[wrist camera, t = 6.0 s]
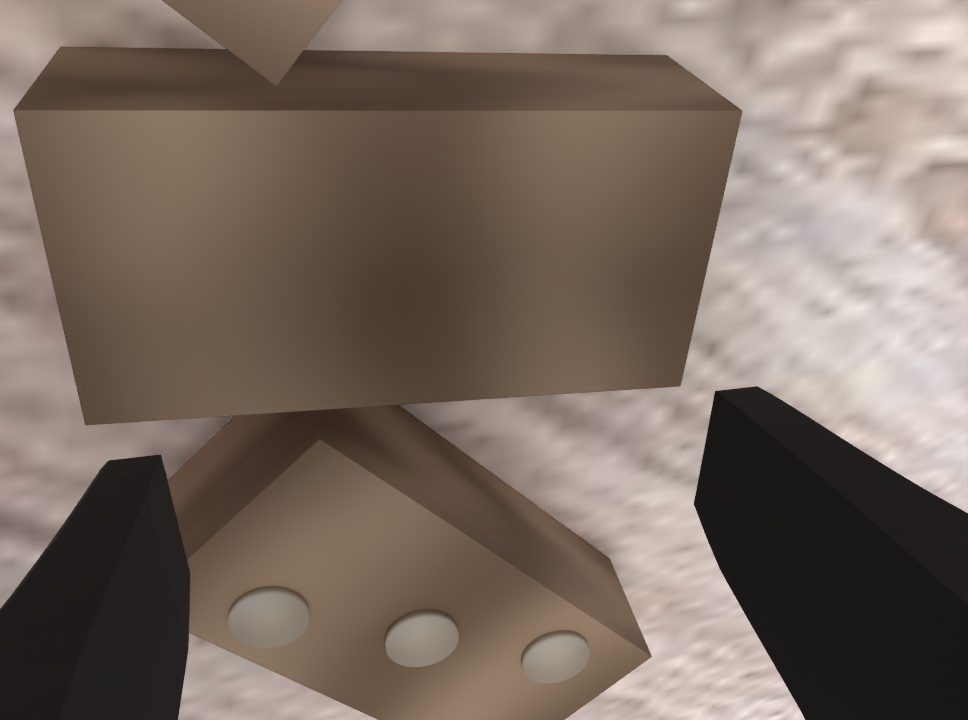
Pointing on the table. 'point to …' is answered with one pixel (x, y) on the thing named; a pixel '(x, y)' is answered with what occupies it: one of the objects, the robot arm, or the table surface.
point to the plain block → (371, 225)
